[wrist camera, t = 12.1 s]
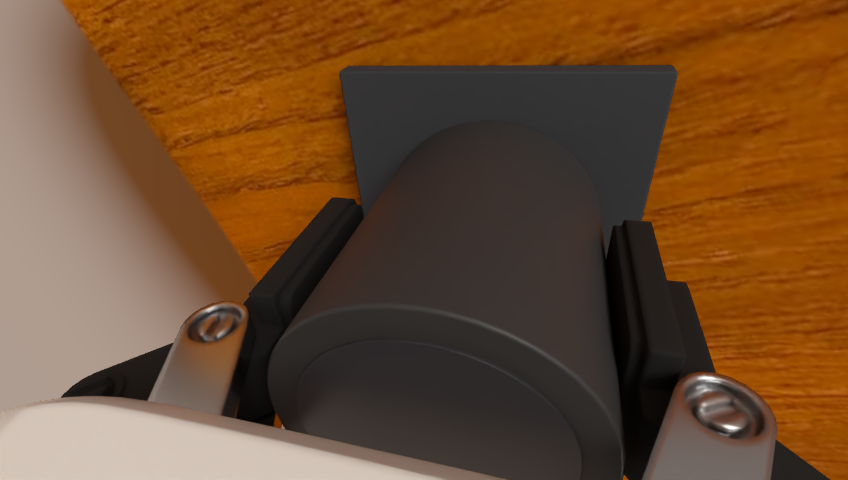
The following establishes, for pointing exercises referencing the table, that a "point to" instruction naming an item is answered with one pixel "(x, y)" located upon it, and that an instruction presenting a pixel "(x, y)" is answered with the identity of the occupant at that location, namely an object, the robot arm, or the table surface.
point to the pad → (517, 119)
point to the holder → (466, 317)
